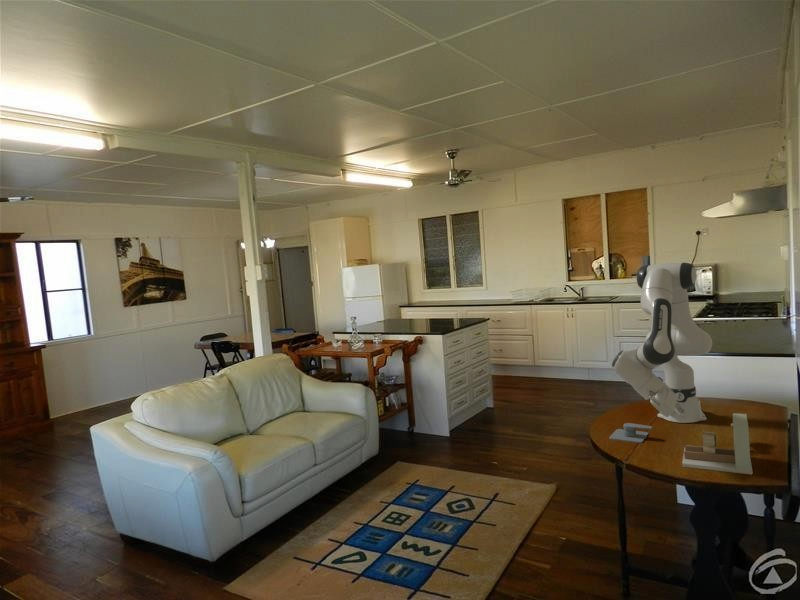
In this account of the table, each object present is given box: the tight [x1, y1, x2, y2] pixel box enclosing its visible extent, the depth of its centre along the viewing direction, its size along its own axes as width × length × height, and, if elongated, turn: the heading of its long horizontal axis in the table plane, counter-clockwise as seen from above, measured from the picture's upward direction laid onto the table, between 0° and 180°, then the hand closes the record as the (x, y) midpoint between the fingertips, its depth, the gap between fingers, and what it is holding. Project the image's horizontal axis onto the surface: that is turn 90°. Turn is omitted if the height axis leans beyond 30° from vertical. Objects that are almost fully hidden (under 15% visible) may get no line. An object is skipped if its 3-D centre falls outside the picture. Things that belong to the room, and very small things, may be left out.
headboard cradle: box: [681, 413, 753, 475], centre depth 180 cm, size 16×20×15 cm
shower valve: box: [609, 422, 653, 444], centre depth 211 cm, size 12×6×15 cm
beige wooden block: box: [702, 431, 717, 454], centre depth 181 cm, size 4×4×8 cm
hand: (683, 416), depth 184 cm, fingers open, 8 cm apart
